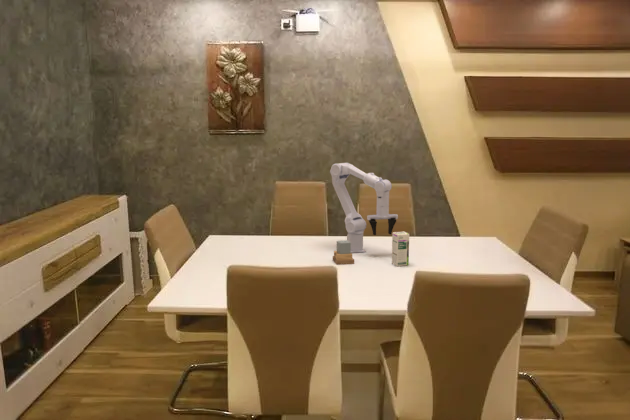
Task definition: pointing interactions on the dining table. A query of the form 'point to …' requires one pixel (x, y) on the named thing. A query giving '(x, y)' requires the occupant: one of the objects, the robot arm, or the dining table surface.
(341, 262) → the walnut base block
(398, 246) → the syrup box
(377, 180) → the robot arm
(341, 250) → the slate cube
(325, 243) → the dining table surface
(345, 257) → the oak top block
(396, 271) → the dining table surface
